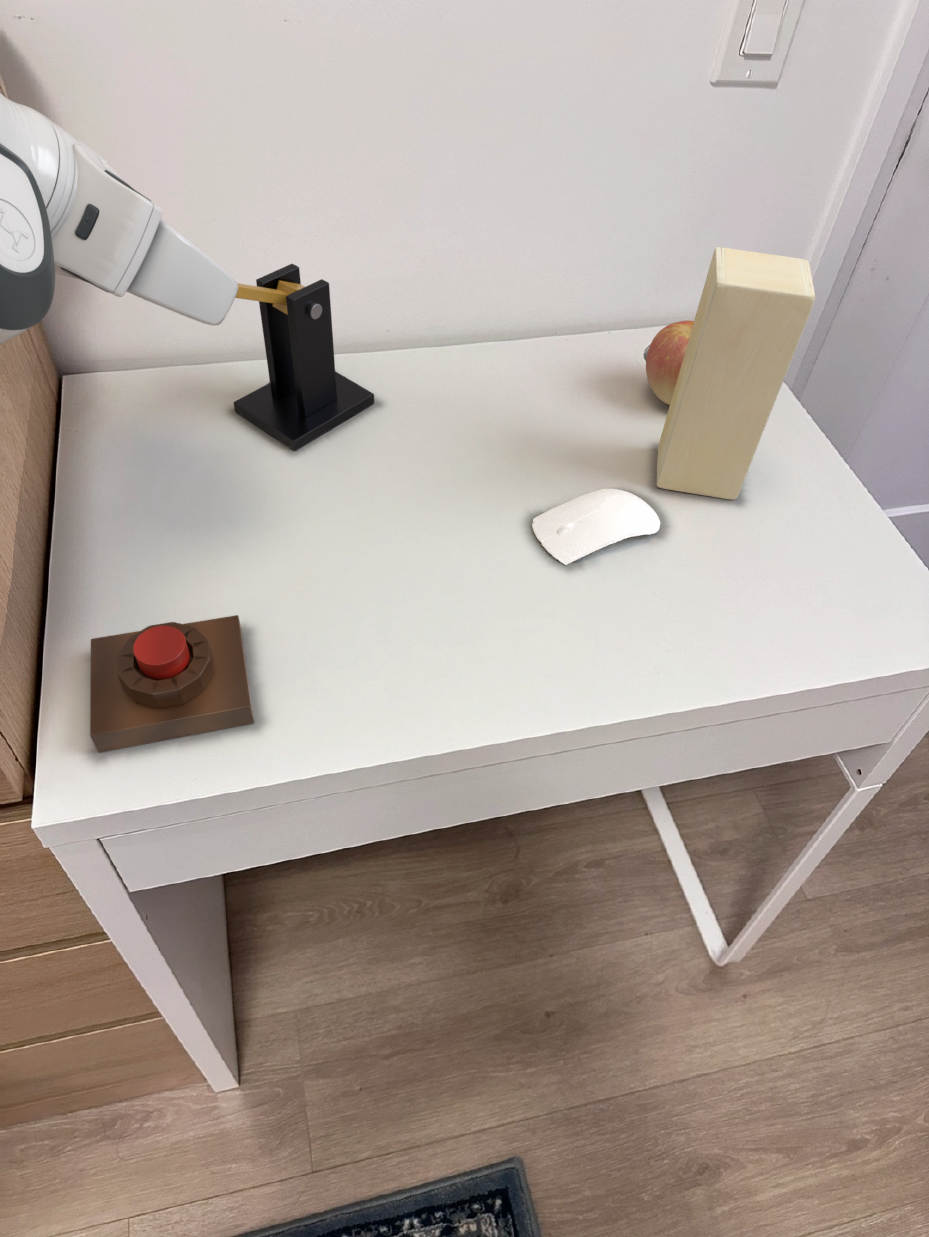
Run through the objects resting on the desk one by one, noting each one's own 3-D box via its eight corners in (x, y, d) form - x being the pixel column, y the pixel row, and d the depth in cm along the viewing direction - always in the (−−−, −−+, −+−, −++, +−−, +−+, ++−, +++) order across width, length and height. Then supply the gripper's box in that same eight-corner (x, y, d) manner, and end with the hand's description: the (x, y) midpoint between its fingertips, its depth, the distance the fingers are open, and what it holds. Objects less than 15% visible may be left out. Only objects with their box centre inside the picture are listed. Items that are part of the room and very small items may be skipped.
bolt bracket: (294, 451, 85) (279, 323, 75) (234, 412, 89) (212, 284, 78) (374, 403, 91) (370, 278, 80) (315, 368, 94) (304, 244, 84)
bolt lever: (178, 306, 68) (184, 275, 67) (139, 282, 70) (145, 252, 69) (319, 324, 81) (327, 298, 80) (283, 303, 83) (290, 278, 82)
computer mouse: (523, 520, 80) (526, 501, 79) (632, 488, 84) (637, 469, 82) (559, 569, 76) (563, 550, 75) (672, 533, 80) (678, 514, 79)
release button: (139, 683, 62) (133, 668, 61) (137, 645, 64) (132, 630, 63) (191, 674, 63) (187, 659, 61) (188, 637, 65) (183, 621, 64)
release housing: (98, 753, 62) (82, 721, 59) (98, 656, 68) (83, 623, 65) (254, 723, 64) (247, 692, 61) (242, 632, 70) (234, 599, 67)
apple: (630, 408, 93) (646, 341, 87) (649, 365, 98) (665, 299, 92) (711, 429, 91) (733, 362, 85) (725, 384, 96) (747, 318, 90)
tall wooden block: (736, 454, 88) (809, 254, 73) (738, 501, 84) (817, 298, 68) (657, 442, 89) (712, 241, 73) (655, 488, 84) (713, 284, 68)
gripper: (-50, 192, 64) (102, 273, 76) (119, 299, 55) (258, 370, 68) (-15, 110, 62) (133, 205, 75) (163, 207, 54) (295, 296, 67)
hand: (194, 284), depth 71 cm, fingers closed on bolt lever, 5 cm apart
